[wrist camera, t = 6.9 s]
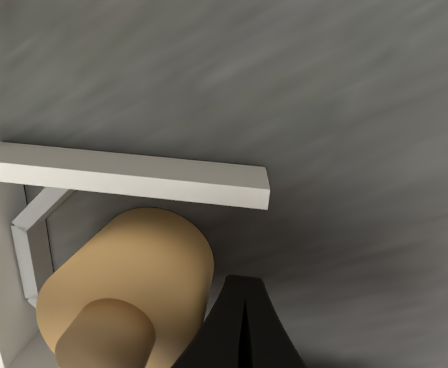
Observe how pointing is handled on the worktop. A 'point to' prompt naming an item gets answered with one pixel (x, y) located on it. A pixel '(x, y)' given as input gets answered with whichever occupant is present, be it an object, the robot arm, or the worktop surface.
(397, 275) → the worktop surface
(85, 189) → the housing
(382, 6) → the worktop surface
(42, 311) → the domed oval button
